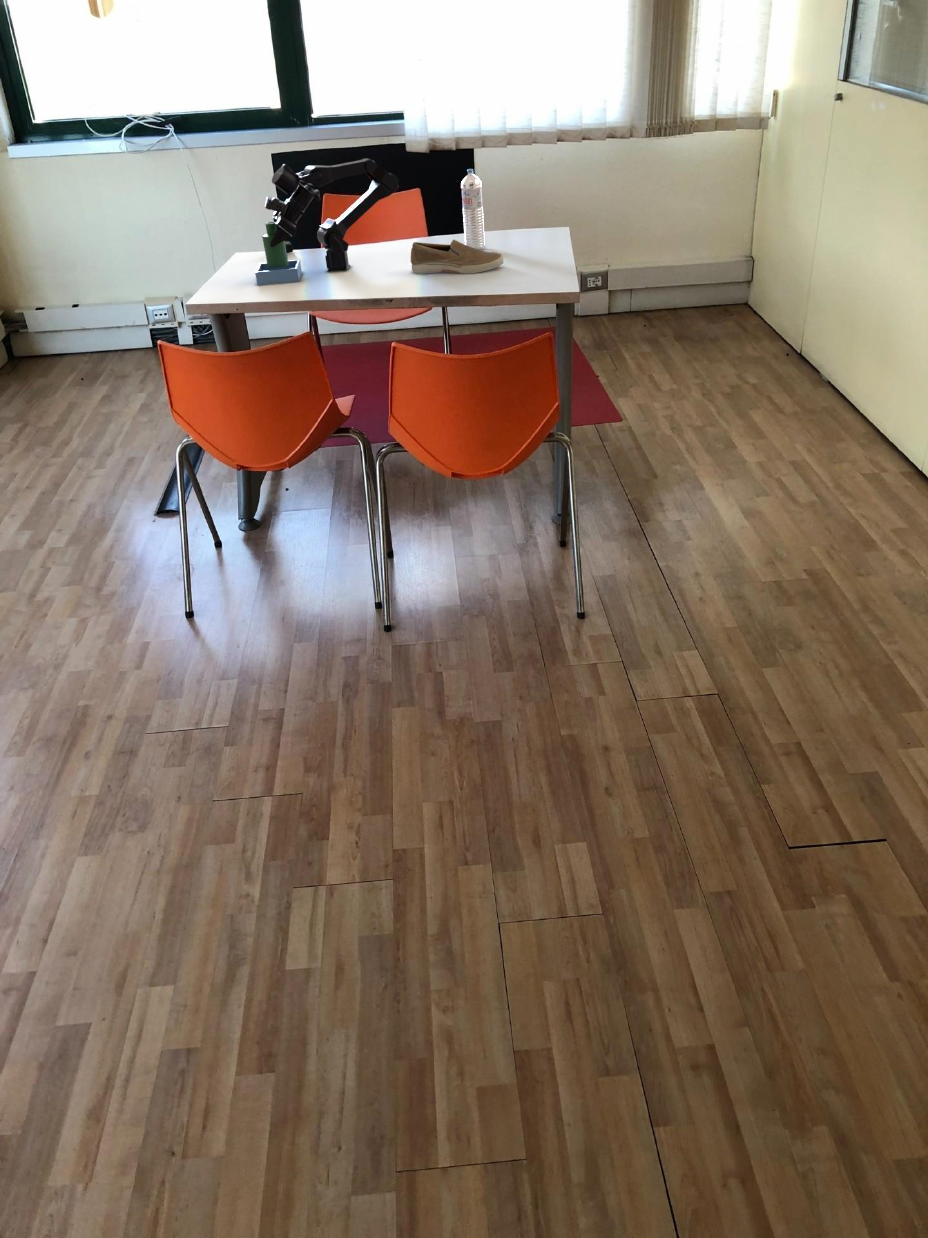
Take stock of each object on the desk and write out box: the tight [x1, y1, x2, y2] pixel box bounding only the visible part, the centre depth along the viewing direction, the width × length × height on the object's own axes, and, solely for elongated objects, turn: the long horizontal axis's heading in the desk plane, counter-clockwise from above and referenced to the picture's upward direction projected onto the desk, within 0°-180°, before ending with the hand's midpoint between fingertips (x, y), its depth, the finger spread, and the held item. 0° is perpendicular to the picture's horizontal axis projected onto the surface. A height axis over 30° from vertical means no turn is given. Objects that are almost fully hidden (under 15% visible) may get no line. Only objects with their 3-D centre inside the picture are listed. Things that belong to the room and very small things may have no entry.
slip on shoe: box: [410, 239, 505, 275], centre depth 304 cm, size 30×11×9 cm, turn 78°
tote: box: [254, 259, 303, 286], centre depth 312 cm, size 13×12×4 cm
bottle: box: [261, 221, 289, 268], centre depth 307 cm, size 7×7×13 cm
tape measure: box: [285, 240, 294, 254], centre depth 343 cm, size 7×7×4 cm
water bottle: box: [460, 168, 486, 251], centre depth 322 cm, size 7×7×25 cm
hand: (270, 244), depth 307 cm, fingers closed on bottle, 7 cm apart
